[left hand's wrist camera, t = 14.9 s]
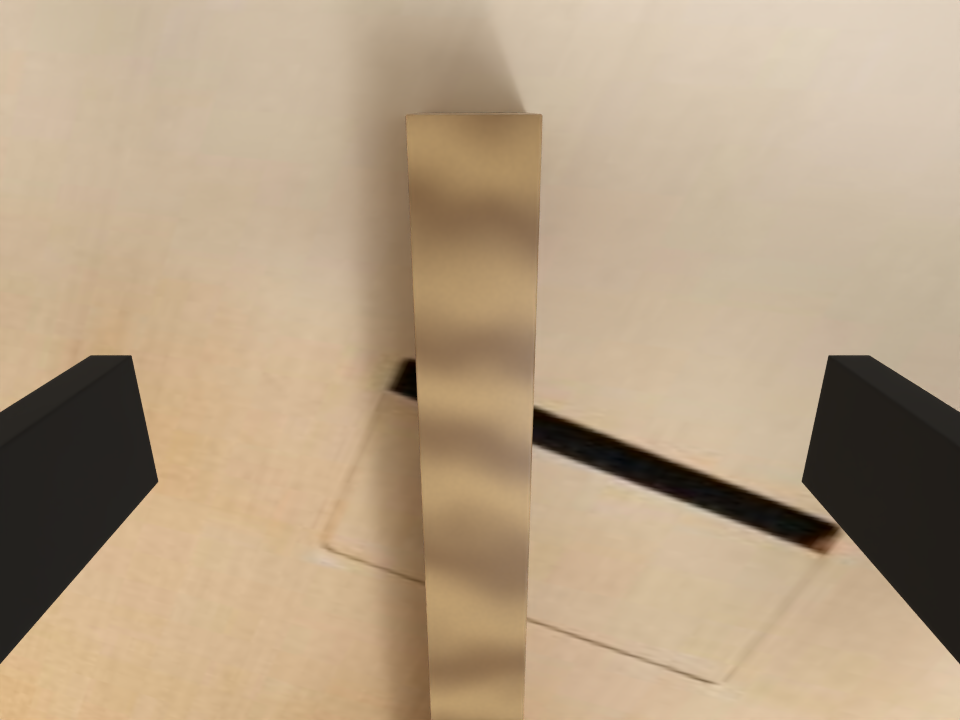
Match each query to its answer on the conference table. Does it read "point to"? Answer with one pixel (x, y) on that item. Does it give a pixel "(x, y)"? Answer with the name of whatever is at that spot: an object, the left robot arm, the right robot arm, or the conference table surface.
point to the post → (475, 396)
